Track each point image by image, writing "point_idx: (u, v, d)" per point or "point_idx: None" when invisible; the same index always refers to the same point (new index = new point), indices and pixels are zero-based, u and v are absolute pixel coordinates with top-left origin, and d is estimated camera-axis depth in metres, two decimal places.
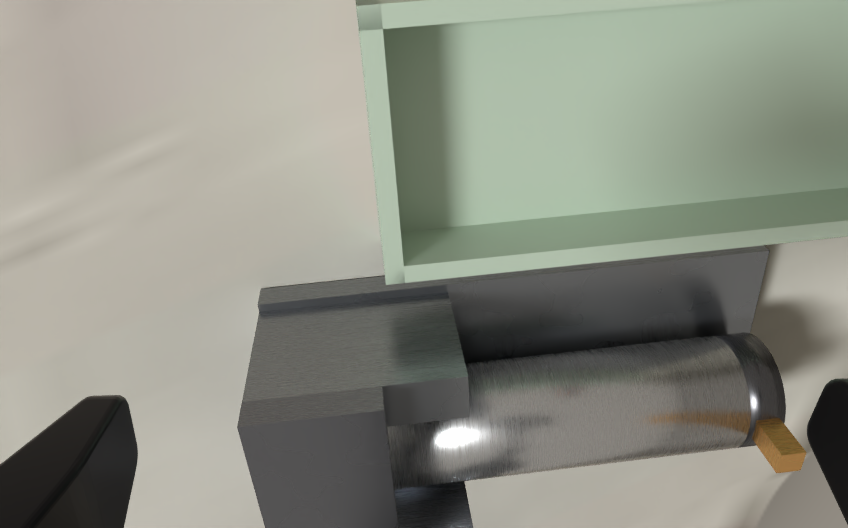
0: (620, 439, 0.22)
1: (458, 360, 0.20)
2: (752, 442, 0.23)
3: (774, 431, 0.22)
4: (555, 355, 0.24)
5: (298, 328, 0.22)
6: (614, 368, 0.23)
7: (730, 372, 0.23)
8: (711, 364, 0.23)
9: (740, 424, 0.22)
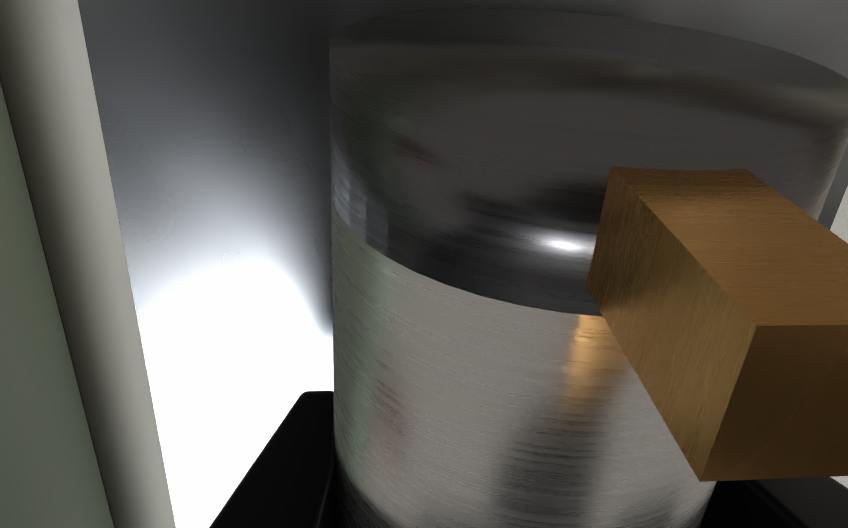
0: None
1: None
2: None
3: (629, 291, 0.04)
4: None
5: None
6: None
7: (364, 287, 0.05)
8: (343, 320, 0.06)
9: (583, 357, 0.04)
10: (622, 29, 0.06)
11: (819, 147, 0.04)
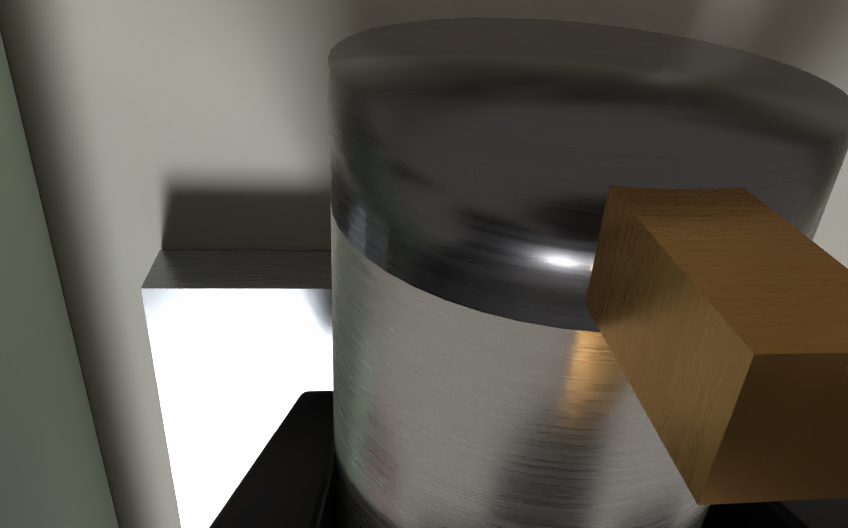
0: None
1: None
2: None
3: (628, 311, 0.04)
4: None
5: None
6: None
7: (364, 300, 0.05)
8: (343, 332, 0.06)
9: (582, 372, 0.04)
10: (620, 40, 0.06)
11: (817, 164, 0.04)
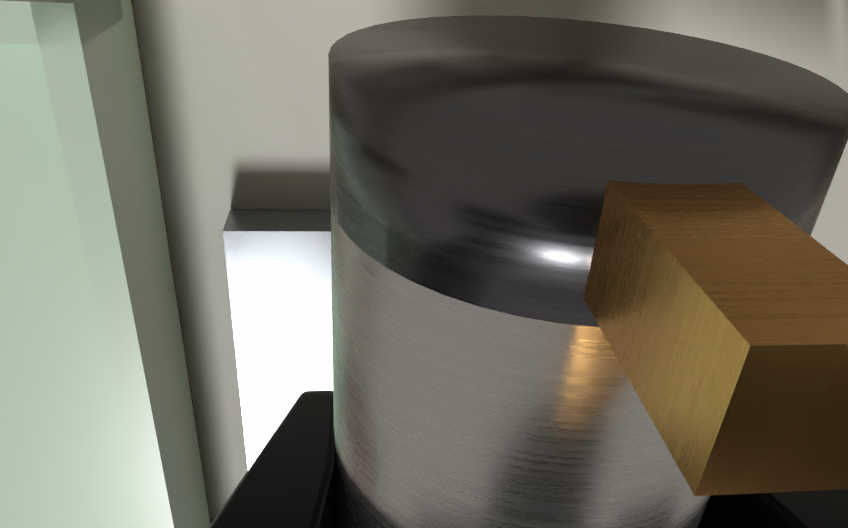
0: None
1: None
2: None
3: (626, 305, 0.04)
4: None
5: None
6: None
7: (364, 296, 0.05)
8: (344, 328, 0.06)
9: (581, 367, 0.04)
10: (620, 37, 0.06)
11: (814, 160, 0.04)
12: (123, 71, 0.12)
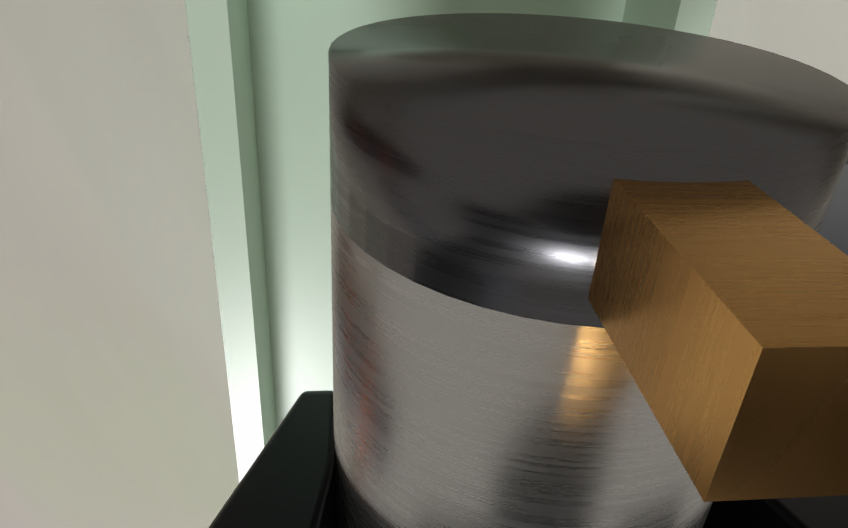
0: None
1: None
2: None
3: (631, 305, 0.04)
4: None
5: None
6: None
7: (364, 296, 0.05)
8: (343, 328, 0.06)
9: (585, 368, 0.04)
10: (623, 34, 0.06)
11: (822, 158, 0.04)
12: None
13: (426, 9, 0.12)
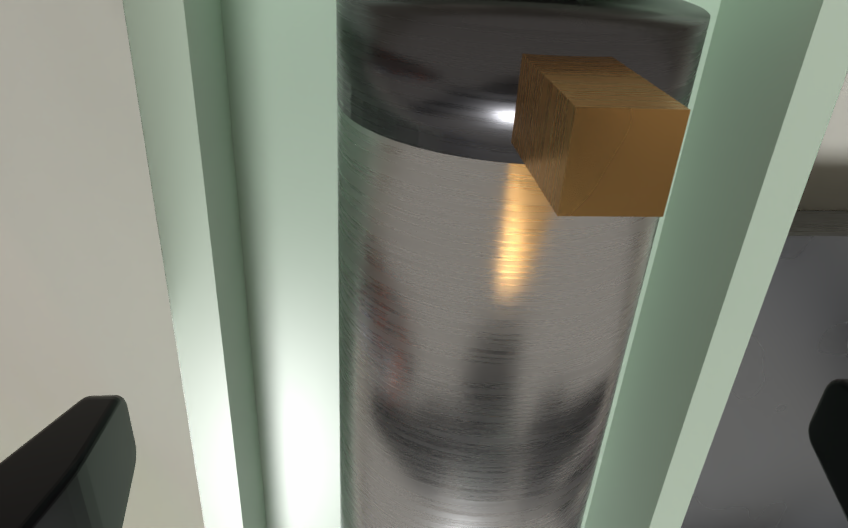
0: (476, 493, 0.08)
1: None
2: None
3: (530, 128, 0.06)
4: None
5: None
6: (341, 399, 0.10)
7: (362, 162, 0.07)
8: (347, 195, 0.08)
9: (512, 196, 0.06)
10: None
11: (666, 46, 0.06)
12: None
13: None
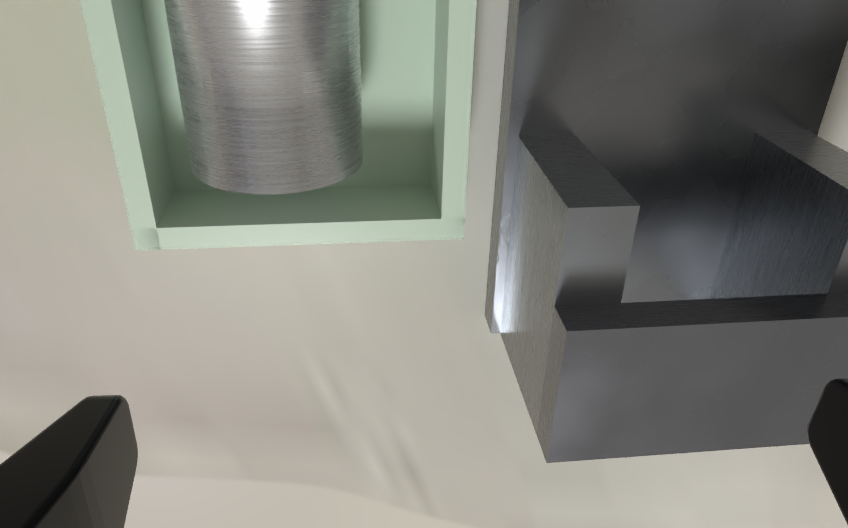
0: None
1: (556, 200, 0.15)
2: None
3: None
4: None
5: (512, 318, 0.20)
6: None
7: None
8: None
9: None
10: None
11: None
12: None
13: None
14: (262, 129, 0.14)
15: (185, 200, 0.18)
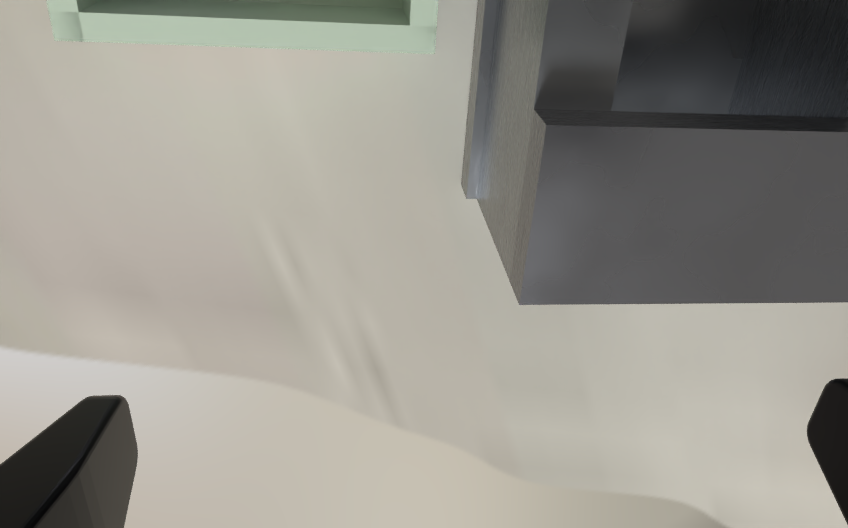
0: None
1: None
2: None
3: None
4: None
5: (489, 168, 0.17)
6: None
7: None
8: None
9: None
10: None
11: None
12: None
13: None
14: None
15: (119, 1, 0.16)
